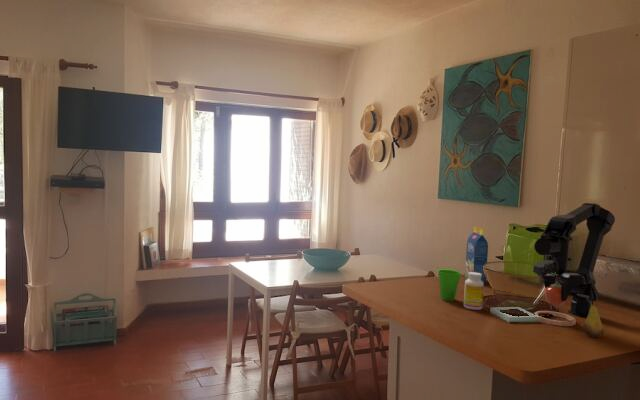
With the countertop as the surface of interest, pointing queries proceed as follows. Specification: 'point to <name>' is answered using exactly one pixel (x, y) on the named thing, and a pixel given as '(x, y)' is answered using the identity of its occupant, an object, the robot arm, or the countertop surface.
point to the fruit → (593, 323)
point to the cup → (448, 283)
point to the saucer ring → (554, 322)
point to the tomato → (554, 294)
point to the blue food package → (476, 253)
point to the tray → (514, 318)
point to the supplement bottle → (473, 291)
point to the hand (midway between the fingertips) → (555, 298)
